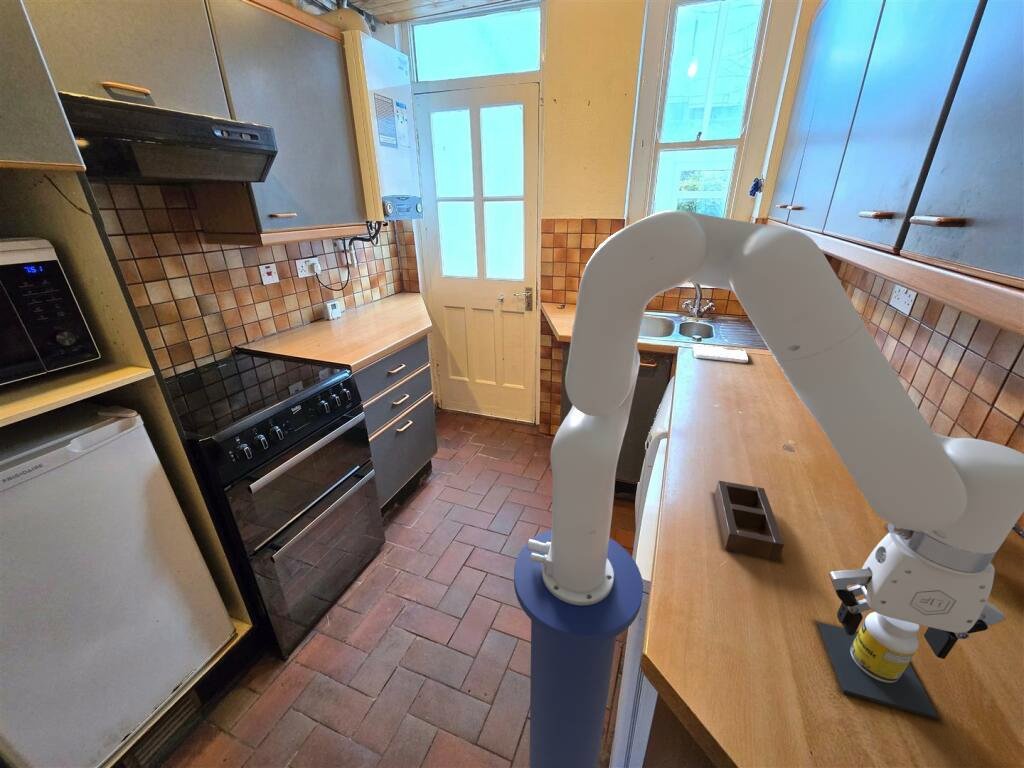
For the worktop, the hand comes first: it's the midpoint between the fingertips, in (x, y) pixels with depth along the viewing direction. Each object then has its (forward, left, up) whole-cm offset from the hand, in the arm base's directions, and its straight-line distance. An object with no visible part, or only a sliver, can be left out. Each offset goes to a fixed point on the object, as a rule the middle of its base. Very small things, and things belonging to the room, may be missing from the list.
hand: (888, 636), depth 54 cm
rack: (-12, +25, -7) cm, 28 cm away
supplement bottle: (0, 0, -6) cm, 6 cm away
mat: (0, 0, -7) cm, 7 cm away
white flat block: (-4, +130, -7) cm, 130 cm away
